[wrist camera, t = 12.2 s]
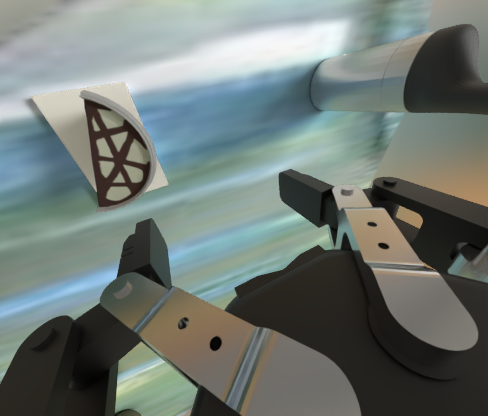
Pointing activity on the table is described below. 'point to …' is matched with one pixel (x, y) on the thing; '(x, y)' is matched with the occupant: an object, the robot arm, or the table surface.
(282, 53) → the table surface
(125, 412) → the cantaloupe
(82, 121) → the board
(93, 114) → the brown lattice half cylinder
